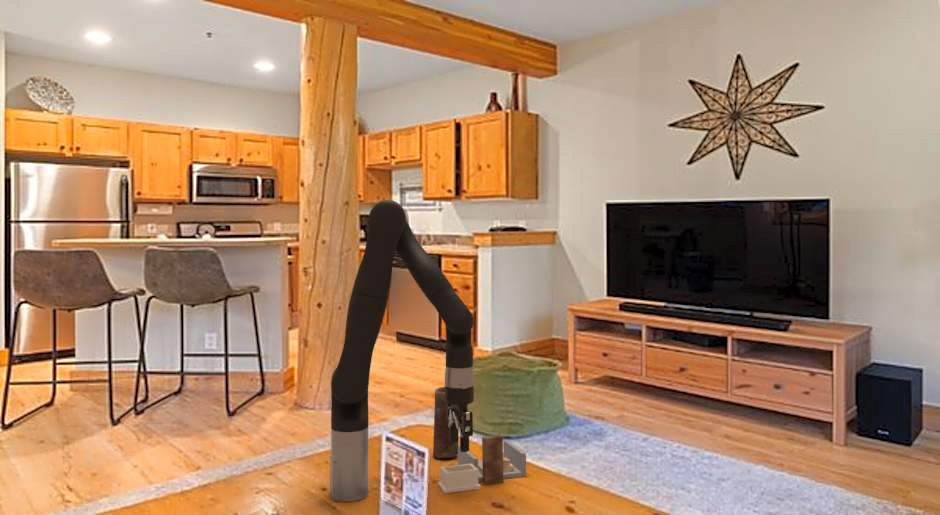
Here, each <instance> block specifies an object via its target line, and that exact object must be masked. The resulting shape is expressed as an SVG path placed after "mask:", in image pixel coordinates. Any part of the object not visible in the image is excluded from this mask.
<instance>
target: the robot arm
mask: <svg viewBox="0 0 940 515" xmlns="http://www.w3.org/2000/svg"><path fill="white" fill-rule="evenodd" d="M370 209H371V210H370V212H369V215H368V225H367V227H368V228H367V235H366V242H365V247H364V252H363V256H362V259H361V262H360V264H359V267H358V270H357V273H356V275H355V279H354V282H353V286H352V289H351V294H350V297H349V298H350V299H349V302H348V308H347V315H346V322H345V331H344V332H345V334H344V335H345V336H344V340H343V341H344V342H343V347H342V350H341V351H342V352H341V353H340V354H341V355H340V357H339V361H338V363H337V366H336V368H335V369H334V370H333V373H332V376H331V380H330V381H331V383H330V388H331V390H330V391H331V392H330V393H331V400H330V402H331V404H330V405H331V410H330V413H331V414H330V429H331V430H330V433H331V434H330V435H331V436H330V437H331V439H330V441H331V442H330V446H331V447H330V448H331V449H330V451H331V452H330V454H331V455H330V457H329V495H330V497H331V500H332V502H342V503H343V502H344V503H349V502H357V501H361V500H364V499H365V498H367V497H368V496H369V384H370V373H371V366H372V358H373V353H374V350H375V345H376V343H377V341H378V338H379V334H380V331H381V328H382V324H383V321H384V319H385V318H384V317H385V314H386V311H387V305H388V301H389V298H390V291H391V284H392V276H393V263H394V258H395V253H396V254H397V256H398V257H399V258H400V260H401V261H402V262H403V265H405V267H406V269H407V270H408V271H409V274H410V275H411V277H412V278H413V279H414V281H415V283H416V284H417V286H418V288H420V290H421V291H422V293H423V294H424V297H426V298H427V299H426V300H428V301H429V303H430V304H431V305H432V306H433V307H434V308H435V309H436V311H437V313H438V315H439V317H440V318H441V320H442V321H443V323H444V324H445V340H446V341H445V342H446V345H445V346H446V347H445V369H444V370H445V371H444V387H445V402H446V403H447V419H446V422H447V423H449V424H448V426H449V428H450V442H458V443H459V445H460V451H461V452H468V451H470V437H473V436H474V425H473V424H474V421H473V420H474V419H473V416H474V415H473V414H474V413H473V411H469V409H468V406H469V405H471V404H472V403H473V402H474V401H475V398H474V396H475V372H474V355H473V354H474V351H473V345H472V329H473V327H474V324H475V321H474V320H475V319H474V314H473V313H472V311H471V310H470V309H469V308H468V306H467V305H466V304H465V302H464V301H463V300H462V299H461V297H459V295H458V294H457V292H456V291H455V289H454V287H453V285H452V283H451V282H450V281H449V279H448V278H447V276H446V275H445V274H444V272H443V271H442V270H441V268H440V267H439V266H438V264H437V262H435V260H433V258H432V257H431V256H430V255H429V253H428V252H426V250H425V249H424V248H423V246H422V244H420V242H419V241H418V239H417V238H416V236H415V234H414V233H413V231H412V229H411V227H410V225H409V222H408V220H407V215H406V211H405V210H404V208H403V206H402V205H401V204H400V203H399V202H397V201H395V200H392V199H384V200H380V201H378V202H377V203H375V204H374V206H373V207H372V208H370ZM458 429H459V435H458ZM458 437H459V439H458Z"/></svg>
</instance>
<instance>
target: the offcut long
mask: <svg viewBox="0 0 940 515" xmlns="http://www.w3.org/2000/svg"><path fill="white" fill-rule="evenodd" d="M478 471H479V472H480V473H481V474H482V475H483V465H482V466H478ZM512 471H514V466H513V465H512V464H511V463H510V466H505V467H503V473H504V472H512Z"/></svg>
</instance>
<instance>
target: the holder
mask: <svg viewBox="0 0 940 515" xmlns="http://www.w3.org/2000/svg"><path fill="white" fill-rule="evenodd" d="M439 469H440V470H439V472H440V474H439V476H440V478H439V481H438V482H437V486H438V487H439V488H440V490H441V491H442V492H443V493H444V494H450V493H451V494H452V493H457V492H458V493H459V492H465V491H466V492H467V491H474V490H481V488H482V486H481V484H480V482H478V469H477V468H476V467H475V466H474V465H473V464H472V463H471V464H463V465H458V464H457V465H448V466H447V465H446V466H440V467H439Z"/></svg>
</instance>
